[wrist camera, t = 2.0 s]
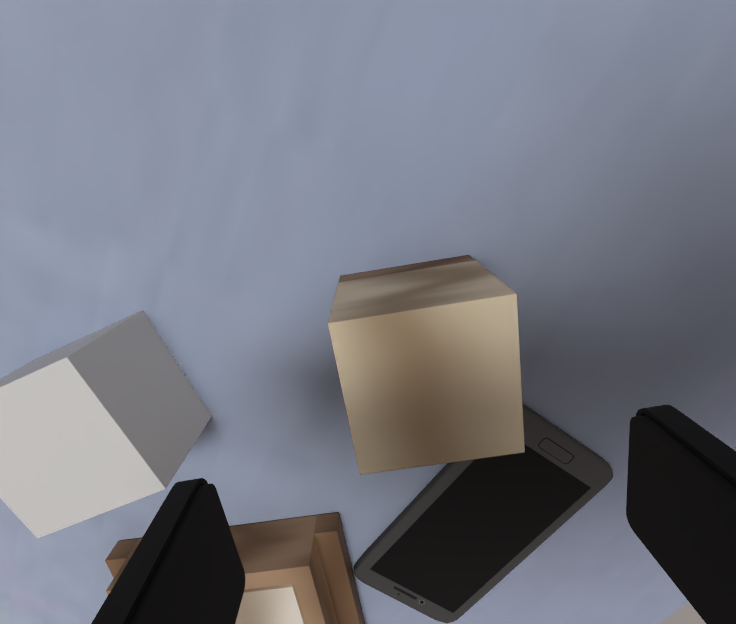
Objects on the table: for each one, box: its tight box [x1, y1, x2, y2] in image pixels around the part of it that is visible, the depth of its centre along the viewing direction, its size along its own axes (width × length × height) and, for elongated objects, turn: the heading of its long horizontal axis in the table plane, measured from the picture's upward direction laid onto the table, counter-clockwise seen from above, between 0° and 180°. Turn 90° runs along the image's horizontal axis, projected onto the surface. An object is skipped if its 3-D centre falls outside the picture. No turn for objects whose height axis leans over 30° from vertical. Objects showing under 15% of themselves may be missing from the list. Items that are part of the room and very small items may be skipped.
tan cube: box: [328, 255, 525, 475], centre depth 16 cm, size 6×6×6 cm
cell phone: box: [354, 405, 613, 623], centre depth 22 cm, size 7×14×1 cm, turn 145°
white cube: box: [0, 311, 212, 538], centre depth 17 cm, size 6×6×5 cm
